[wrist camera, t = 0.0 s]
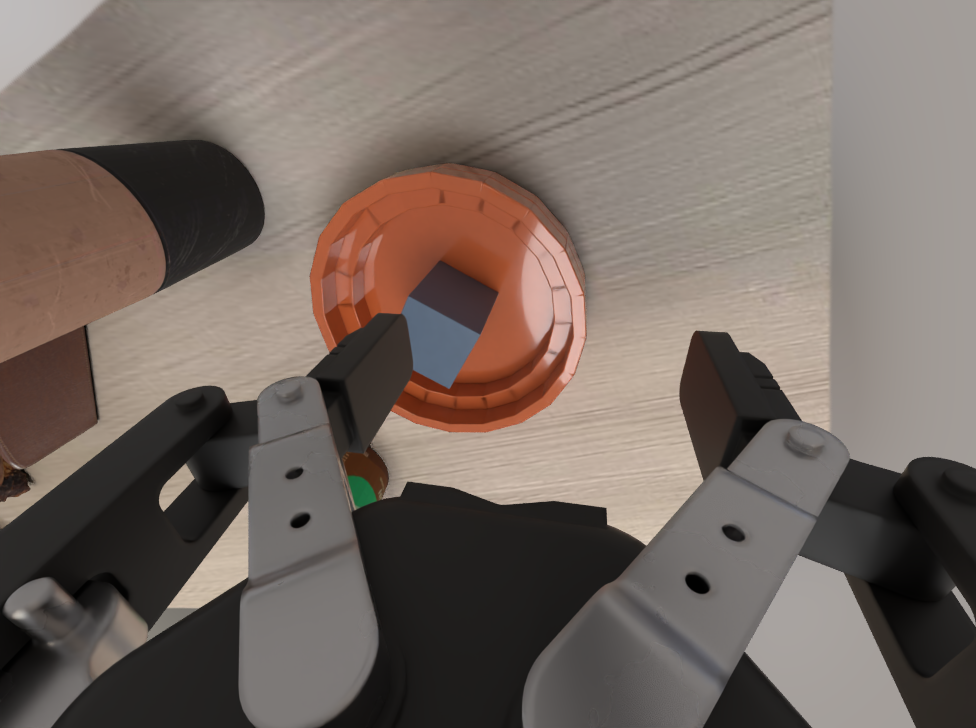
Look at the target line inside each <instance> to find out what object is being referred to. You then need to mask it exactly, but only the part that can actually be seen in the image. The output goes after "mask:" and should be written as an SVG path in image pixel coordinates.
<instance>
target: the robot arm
mask: <svg viewBox="0 0 976 728" xmlns="http://www.w3.org/2000/svg"><path fill="white" fill-rule="evenodd" d="M329 353H330V354H329V355H326V356H325V357H324V359H323V360H322V361H321V362H320V363H319V364H318V365H317V366H316V367H315V368H314V369H313V370H312V371H311V372H310V373H309V374H308V375H307V376H306V377H304V376H299V377H291V378H286V379H283V380H280V381H278V382H275V383H273V384H271V385H270V386H268V387H267V388H265V389H264V390H263V391H262V392H261V393H260V395H259V396H258V398H257V400H253V401H244V402H236V403H229V401H228V398H227V396H226V394H225V392H224V390H223V389H222V388H220V387H216V386H202V387H196V388H192V389H189V390H186V391H183V392H181V393H179V394H177V395H174V396H173V397H171V398H169V399H168V400H166V401H165V402H164V403H163V404H161V405H160V406H159V407H157V408H156V409H155V410H154V411H152V412H151V413H150V414H148V415H147V416H146V417H145V418H143V419H142V420H141V421H140V422H138V423H137V424H136V425H134V426H133V427H132V428H131V429H129V430H128V431H127V432H125V433H124V434H123V435H122V436H120V437H119V438H118V439H117V440H115V441H114V442H113V443H111V444H110V445H109V446H108V447H106V448H105V449H104V450H103V451H101V452H100V453H99V454H97V455H96V456H95V457H94V458H92V459H91V460H90V461H88V462H87V463H86V464H85V465H83V466H82V467H81V468H80V469H78V470H77V471H76V472H74V473H73V474H72V475H71V476H69V477H68V478H67V479H66V480H64V481H63V482H62V483H60V484H59V485H58V486H57V487H55V488H54V489H53V490H51V491H50V492H49V493H48V494H46V495H45V496H44V497H43V498H41V499H40V500H39V501H37V502H36V503H35V504H34V505H32V506H31V507H30V508H29V509H27V510H26V511H25V512H23V513H22V514H21V515H20V516H18V517H17V518H16V519H14V520H13V521H12V522H11V523H9V524H8V525H7V526H6V527H4V528H3V529H2V530H0V728H812V727H811V726H810V725H809V724H808V723H807V721H806V720H805V719H804V718H803V717H802V716H801V715H800V714H799V712H798V711H797V710H796V709H795V708H794V707H793V706H792V705H791V704H790V702H789V701H788V700H787V699H786V698H785V697H784V696H783V694H782V693H781V692H780V691H779V690H778V689H777V688H776V687H775V685H774V684H773V683H772V682H771V681H770V680H769V679H768V677H767V676H766V675H765V674H764V673H763V672H762V671H761V670H760V669H759V668H758V666H757V665H756V664H755V663H754V662H753V661H752V660H751V658H750V657H749V656H748V655H747V654H746V653H745V652H744V651H745V649H746V647H747V646H748V644H749V642H750V640H751V638H752V637H753V635H754V633H755V631H756V629H757V627H758V626H759V624H760V622H761V620H762V618H763V616H764V615H765V613H766V611H767V609H768V608H769V606H770V604H771V602H772V600H773V599H774V597H775V595H776V593H777V591H778V590H779V588H780V586H781V584H782V582H783V581H784V579H785V577H786V575H787V573H788V572H789V570H790V568H791V566H792V564H793V563H794V561H795V559H796V557H797V555H799V556H802V557H805V558H808V559H810V560H812V561H815V562H818V563H821V564H823V565H826V566H828V567H831V568H833V569H836V570H838V571H841V572H844V574H845V576H846V578H847V580H848V583H849V585H850V587H851V589H852V591H853V593H854V595H855V598H856V600H857V602H858V604H859V606H860V608H861V610H862V613H863V615H864V617H865V619H866V621H867V623H868V625H869V628H870V630H871V632H872V634H873V636H874V638H875V640H876V643H877V645H878V646H879V649H880V651H881V653H882V655H883V658H884V660H885V662H886V664H887V666H888V668H889V670H890V672H891V675H892V677H893V679H894V681H895V683H896V685H897V687H898V690H899V692H900V694H901V696H902V698H903V700H904V703H905V705H906V707H907V709H908V711H909V713H910V716H911V718H912V720H913V722H914V724H915V726H916V728H976V627H975V625H974V624H973V622H972V621H971V619H970V618H969V616H968V615H967V613H966V612H965V610H964V609H963V607H962V606H961V604H960V603H959V601H958V600H957V598H956V597H955V595H954V594H953V592H952V591H951V590H952V589H953V588H954V587H955V586H957V588H958V589H959V591H960V592H961V594H962V595H963V597H964V598H965V599H966V601H967V603H968V604H969V606H970V608H971V610H972V612H973V614H974V617H975V622H976V469H975V468H972V467H970V466H968V465H965V464H962V463H958V462H956V461H952V460H948V459H942V458H936V457H922V458H917V459H914V460H912V461H911V462H910V463H909V464H908V466H907V467H906V469H905V470H904V472H903V473H902V474H901V473H897V472H894V471H890V470H887V469H883V468H880V467H876V466H873V465H869V464H866V463H862V462H859V461H856V460H853V459H850V454H849V452H848V449H847V448H846V446H845V445H844V444H843V443H842V442H841V441H840V440H839V439H838V438H837V437H835V436H834V435H832V434H831V433H829V432H828V431H826V430H824V429H822V428H820V427H818V426H815V425H812V424H810V423H806V422H803V421H802V420H801V419H800V417H799V416H798V414H797V412H796V411H795V409H794V408H793V406H792V405H791V403H790V402H789V400H788V399H787V397H786V396H785V394H784V393H783V391H782V390H780V387H779V385H778V383H777V382H776V380H775V379H773V376H772V374H771V373H770V371H769V370H768V368H767V367H766V365H765V364H764V363H763V362H761V361H760V360H758V359H757V358H755V357H754V356H753V355H751V354H750V353H747V352H739V350H738V348H737V347H736V345H735V343H734V342H733V340H732V338H731V337H730V335H729V334H728V333H726V332H708V331H695V332H694V334H693V336H692V338H691V342H690V346H689V350H688V354H687V358H686V362H685V366H684V370H683V374H682V378H681V382H680V403H681V407H682V410H683V414H684V417H685V420H686V424H687V427H688V430H689V434H690V437H691V440H692V444H693V447H694V450H695V454H696V457H697V460H698V464H699V467H700V470H701V474H702V477H703V480H704V482H703V483H702V484H701V485H700V486H699V487H698V488H697V489H696V491H695V492H694V493H693V494H692V495H691V496H690V497H689V498H688V500H687V501H686V502H685V503H684V504H683V505H682V506H681V508H680V509H679V510H678V511H677V512H676V513H675V514H674V515H673V517H672V518H671V519H670V520H669V521H668V522H667V523H666V524H665V526H664V527H663V528H662V529H661V530H660V531H659V532H658V534H657V535H656V536H655V537H654V538H653V539H652V540H651V541H650V543H649V544H648V545H647V546H646V545H645V544H643V543H642V542H641V541H639V540H637V539H636V538H634V537H632V536H631V535H629V534H627V533H625V532H623V531H621V530H619V529H617V528H614V527H612V526H609V525H607V511H606V508H603V507H595V506H587V505H580V504H572V503H565V502H557V501H549V502H536V503H523V504H510V505H499V504H495V503H493V502H490V501H487V500H485V499H482V498H479V497H477V496H474V495H471V494H469V493H466V492H463V491H461V490H458V489H455V488H452V487H444V486H437V485H429V484H422V483H414V482H407V484H406V486H405V488H404V490H403V492H402V494H401V496H400V497H393V498H387V499H383V500H379V501H376V502H372V503H370V504H367V505H365V506H362V507H360V508H358V509H356V507H355V504H354V500H353V496H352V493H351V489H350V485H349V481H348V478H347V474H346V470H345V466H344V463H343V460H342V457H343V456H344V454H345V453H346V452H353V453H362V454H364V453H365V451H366V450H367V448H368V446H369V445H370V443H371V441H372V440H373V438H374V437H375V435H376V433H377V432H378V430H379V429H380V427H381V425H382V424H383V422H384V421H385V419H386V417H387V416H388V414H389V412H390V411H391V409H392V408H393V406H394V404H395V403H396V401H397V400H398V398H399V396H400V395H401V393H402V392H403V390H404V388H405V387H406V385H407V384H408V382H409V380H410V378H411V376H412V372H413V356H412V350H411V343H410V337H409V330H408V324H407V320H406V317H405V316H404V315H403V314H392V313H377V314H376V315H375V316H374V317H373V318H372V319H371V320H370V321H369V322H368V323H367V325H366V326H365V327H364V328H359V329H358V330H356V331H354V332H352V333H350V334H348V335H346V336H345V337H344V338H343V339H342V340H341V341H340V342H339V343H338V344H337V347H334V348H333V349H332V350H331V351H330V352H329ZM185 463H186V464H187V466H188V468H189V469H190V471H191V473H192V475H193V476H194V478H195V479H194V480H193V481H192V482H191V483H190V484H189V485H188V487H187V488H186V489H185V490H184V491H183V492H182V493H181V494H180V495H179V496H178V497H177V498H176V499H175V500H174V501H173V502H172V504H171V505H170V506H169V507H168V508H167V509H166V510H165V511H164V512H163V511H162V509H161V507H160V505H159V495H160V492H161V489H162V487H163V486H164V484H165V483H166V482H167V481H168V480H169V479H170V478H171V477H172V476H173V475H174V474H175V473H176V472H177V471H178V470H179V469H180V468H181V467H182V466H183V465H184V464H185ZM248 500H249V571H248V578H246V579H245V580H243V581H242V582H240V583H238V584H237V585H235V586H234V587H232V588H231V589H229V590H227V591H226V592H224V593H223V594H221V595H220V596H218V597H216V598H215V599H213V600H212V601H210V602H209V603H207V604H205V605H204V606H202V607H201V608H199V609H198V610H196V611H195V612H193V613H191V614H190V615H188V616H187V617H185V618H183V619H182V620H180V621H179V622H177V623H176V624H174V625H173V626H171V627H169V628H168V629H166V630H165V631H163V632H162V633H160V634H159V635H157V636H155V637H154V638H152V639H151V640H149V641H148V642H146V641H147V638H148V632H149V630H150V629H151V628H152V627H153V625H154V624H155V622H156V621H157V620H158V619H159V617H160V616H161V615H162V613H163V612H164V611H165V610H166V608H167V607H168V606H169V604H170V603H171V602H172V600H173V599H174V598H175V596H176V595H177V594H178V592H179V591H180V590H181V588H182V587H183V586H184V584H185V583H186V582H187V581H188V579H189V578H190V577H191V575H192V574H193V573H194V571H195V570H196V569H197V567H198V566H199V565H200V563H201V562H202V561H203V559H204V558H205V557H206V556H207V554H208V553H209V552H210V550H211V549H212V548H213V546H214V545H215V544H216V542H217V541H218V540H219V538H220V537H221V536H222V534H223V533H224V532H225V531H226V529H227V528H228V527H229V525H230V524H231V523H232V521H233V520H234V519H235V517H236V516H237V515H238V513H239V512H240V511H241V509H242V508H243V507H244V505H245V504H246V503H247V502H248Z"/></svg>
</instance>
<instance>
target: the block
mask: <svg viewBox="0 0 976 728" xmlns="http://www.w3.org/2000/svg"><path fill="white" fill-rule="evenodd" d="M498 294H499V293H498V292H496V291H495V290H493V289H491V288H489V287H487V286H486V285H484V284H482V283H480V282H478V281H477V280H475V279H473V278H471V277H469V276H468V275H466V274H464V273H462V272H460V271H458V270H457V269H455V268H453V267H451V266H449V265H448V264H446V263H444V262H442V261H439V262H438V263H437V264H436V265H435V266H434V267H433V268H432V270H431V271H430V272H429V273H428V274H427V275H426V276H425V277H424V279H423V280H422V281H421V282H420V283H419V284H418V285H417V287H416V288H415V289H414V290H413V291H412V292H411V293H410V294H409V296H408V297H407V300H406V302H405V305H404V307H403V309H402V312H401V314H403V315H404V316H405V317H406V320H407V324H408V330H409V337H410V343H411V350H412V356H413V370H414V371H416V372H418V373H420V374H422V375H424V376H425V377H427V378H429V379H431V380H433V381H435V382H437V383H439V384H441V385H443V386H445V387H447V388H448V389H450V387H451V385H452V384H453V382H454V380H455V379H456V377H457V375H458V373H459V372H460V370H461V368H462V366H463V365H464V363H465V361H466V359H467V358H468V356H469V354H470V352H471V351H472V349H473V347H474V345H475V344H476V342H477V340H478V338H479V337H480V335H481V333H482V330H483V328H484V326H485V324H486V321H487V319H488V317H489V315H490V312H491V310H492V308H493V306H494V303H495V301H496V299H497V297H498Z"/></svg>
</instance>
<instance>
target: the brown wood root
mask: <svg viewBox="0 0 976 728" xmlns="http://www.w3.org/2000/svg"><path fill="white" fill-rule="evenodd" d="M29 490H30V487H29V486H28V482H27V480H26V473H23V472H22V471H20V470H18V469H15V468H13V467H12V466H10V465H9V464H8V463H7V462H6V461H5V460H4V459H3V458H2V456H1V455H0V502H1V501H3V502H5V501H6V498H7V497H18V496H20V495H21V494H23V493H26V492H27V491H29Z"/></svg>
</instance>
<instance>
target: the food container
mask: <svg viewBox="0 0 976 728" xmlns="http://www.w3.org/2000/svg"><path fill="white" fill-rule="evenodd" d="M342 460H343V463H344V466H345V470H346V474H347V478H348V481H349V485H350V489H351V493H352V496H353V500H354V504H355V507H356V509H358V508H360V507H362V506H365V505H367V504H370V503H372V502H376V501H379V500H381V499H382V497H383V494H384V492H385V490H386V487H387V485H388V480H389V476H388V471H387V468H386V466H385V464H384V462H383V461H382V459H381V458H380V457H379V456H378V454H377V453H376V452H375V451H373V450H372V449H371V448H370V447H369V446H368V448H367V450H366V451H365V453H364V454H362V453H353V452H346V453H345V454H344V456H343V457H342Z"/></svg>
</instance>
